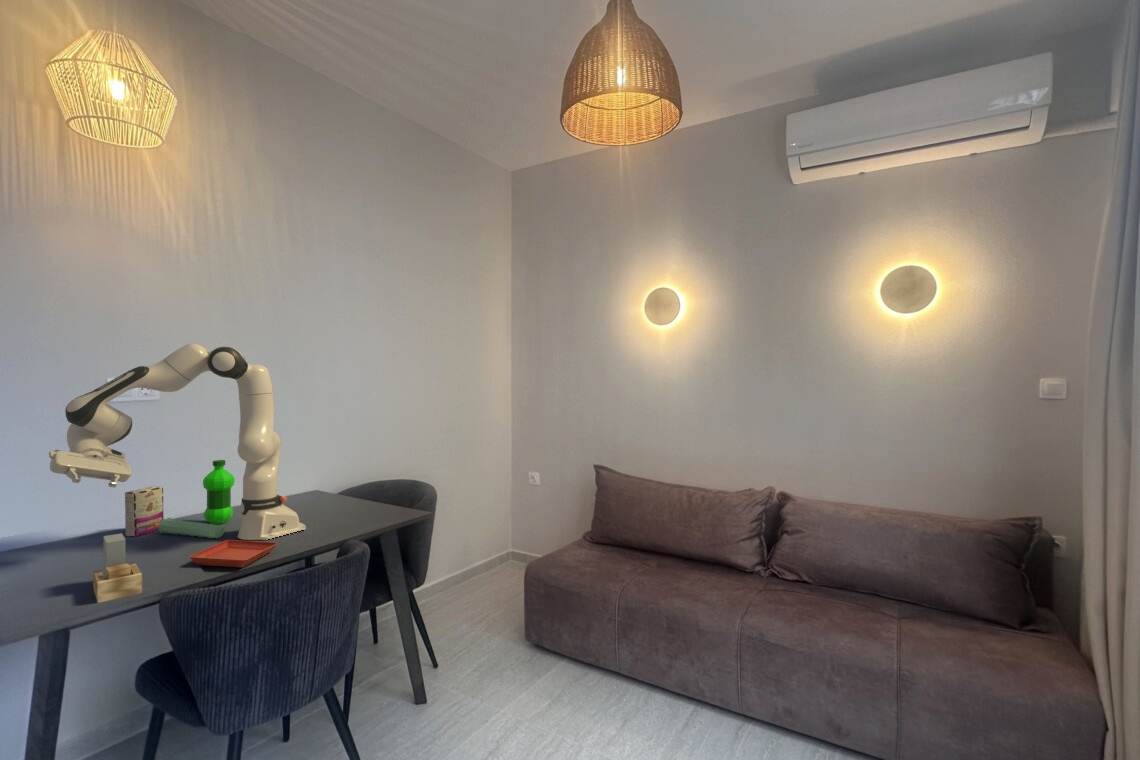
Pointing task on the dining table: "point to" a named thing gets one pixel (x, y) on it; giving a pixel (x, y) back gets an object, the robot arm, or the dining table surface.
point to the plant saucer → (233, 553)
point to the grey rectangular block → (113, 551)
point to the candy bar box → (143, 510)
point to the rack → (117, 585)
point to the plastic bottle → (218, 494)
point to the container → (190, 528)
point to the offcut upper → (118, 571)
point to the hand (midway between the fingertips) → (95, 483)
